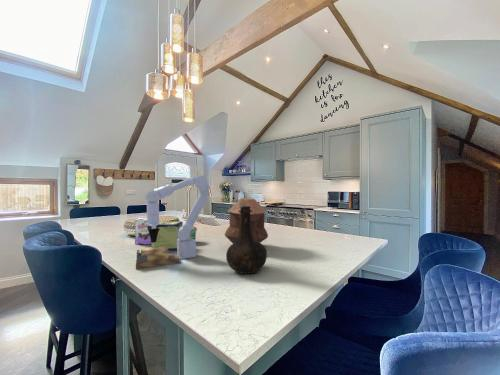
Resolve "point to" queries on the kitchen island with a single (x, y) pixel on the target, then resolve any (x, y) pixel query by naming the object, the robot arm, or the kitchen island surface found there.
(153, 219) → the robot arm
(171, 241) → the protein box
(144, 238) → the candy box
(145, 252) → the oak rail
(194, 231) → the food container
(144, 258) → the cup bracket
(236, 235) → the pottery vessel
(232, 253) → the dark brown ceramic vase
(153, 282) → the kitchen island surface
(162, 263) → the walnut base board
